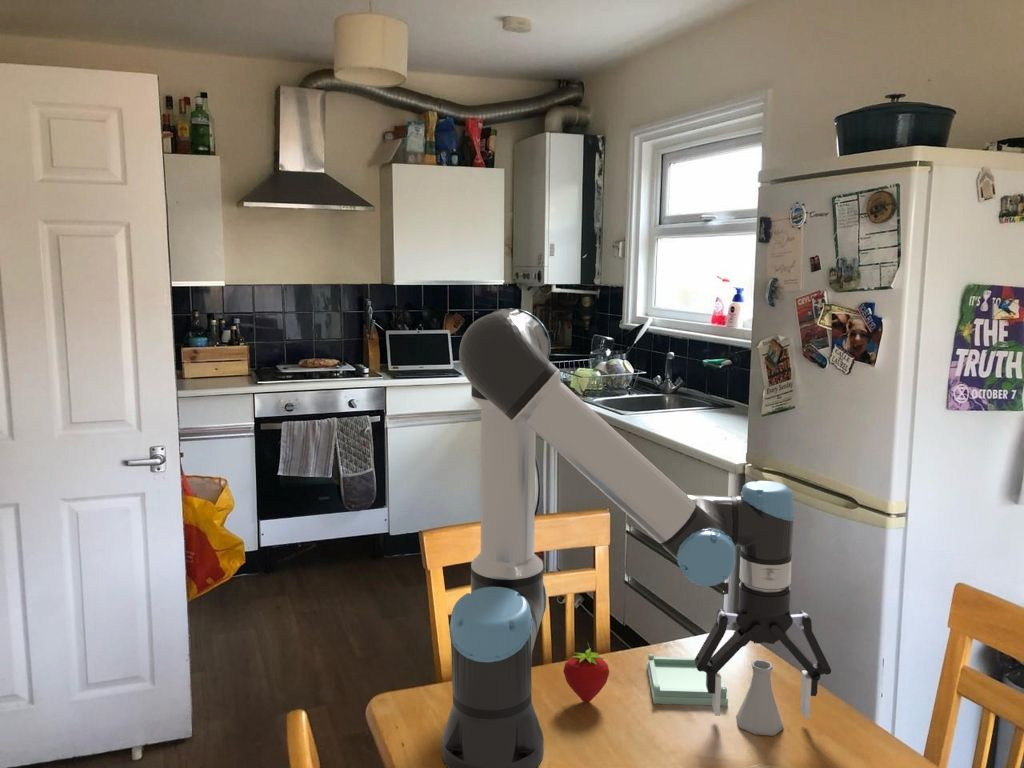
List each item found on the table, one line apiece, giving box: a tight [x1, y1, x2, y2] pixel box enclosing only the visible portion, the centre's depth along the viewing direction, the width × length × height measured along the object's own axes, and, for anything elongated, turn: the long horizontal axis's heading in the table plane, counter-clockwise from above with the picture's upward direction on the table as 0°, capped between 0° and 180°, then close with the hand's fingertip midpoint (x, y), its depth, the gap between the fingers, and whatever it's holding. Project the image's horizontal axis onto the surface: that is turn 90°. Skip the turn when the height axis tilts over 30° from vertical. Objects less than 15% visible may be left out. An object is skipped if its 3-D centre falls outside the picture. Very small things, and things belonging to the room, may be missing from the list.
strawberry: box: [563, 642, 610, 703], centre depth 136 cm, size 6×8×10 cm
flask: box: [735, 659, 784, 737], centre depth 129 cm, size 7×7×10 cm
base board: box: [646, 653, 729, 707], centre depth 141 cm, size 12×12×3 cm
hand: (760, 712), depth 129 cm, fingers open, 13 cm apart
